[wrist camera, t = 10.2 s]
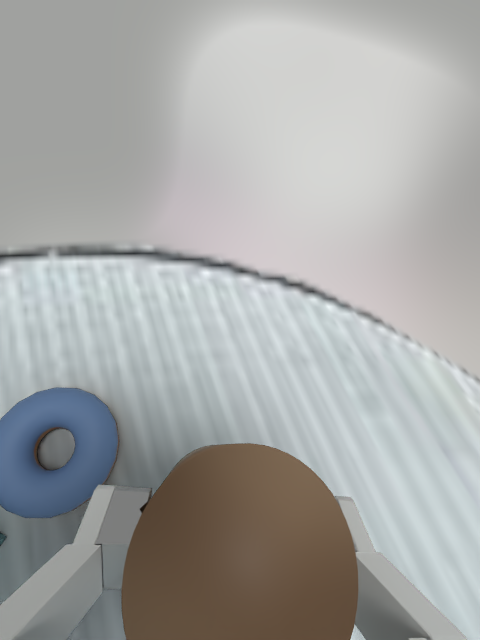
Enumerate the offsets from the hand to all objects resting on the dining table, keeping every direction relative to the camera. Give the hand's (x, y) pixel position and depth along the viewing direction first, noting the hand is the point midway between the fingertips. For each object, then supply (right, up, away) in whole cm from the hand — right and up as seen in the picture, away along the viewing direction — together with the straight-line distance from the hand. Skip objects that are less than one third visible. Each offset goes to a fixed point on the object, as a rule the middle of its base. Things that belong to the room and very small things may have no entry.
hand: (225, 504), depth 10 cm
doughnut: (-15, -6, +19) cm, 25 cm away
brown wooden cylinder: (-1, -2, +4) cm, 4 cm away
